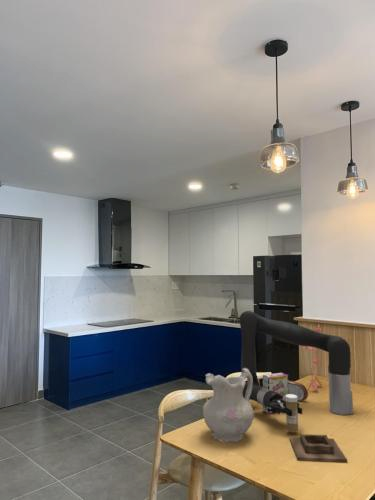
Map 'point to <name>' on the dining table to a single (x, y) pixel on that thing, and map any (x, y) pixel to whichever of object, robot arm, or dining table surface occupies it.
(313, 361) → the pink branching piece
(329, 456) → the walnut stand
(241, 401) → the ceramic pitcher
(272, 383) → the candy bar box
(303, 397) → the grey brown oval slab
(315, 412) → the dining table surface
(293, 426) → the spice jar
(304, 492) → the dining table surface
